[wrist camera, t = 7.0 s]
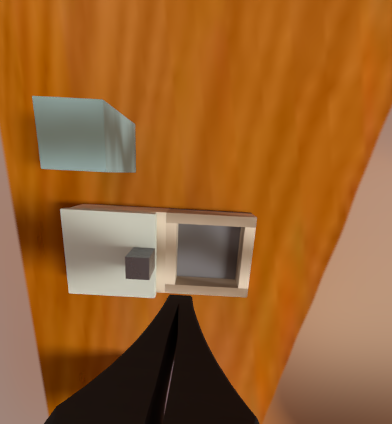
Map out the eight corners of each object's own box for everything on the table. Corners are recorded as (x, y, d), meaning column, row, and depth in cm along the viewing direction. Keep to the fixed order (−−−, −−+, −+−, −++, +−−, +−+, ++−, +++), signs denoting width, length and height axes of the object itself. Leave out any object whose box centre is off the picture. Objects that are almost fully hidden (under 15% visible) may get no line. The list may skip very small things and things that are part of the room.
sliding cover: (156, 294, 18) (149, 313, 16) (73, 289, 19) (53, 307, 16) (156, 212, 17) (149, 219, 14) (64, 207, 17) (40, 213, 14)
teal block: (136, 172, 18) (106, 172, 12) (91, 170, 18) (41, 168, 12) (135, 124, 17) (102, 99, 12) (88, 121, 17) (32, 96, 12)
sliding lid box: (242, 285, 21) (246, 297, 19) (89, 277, 21) (78, 287, 19) (251, 212, 19) (257, 217, 17) (83, 203, 19) (70, 207, 17)
